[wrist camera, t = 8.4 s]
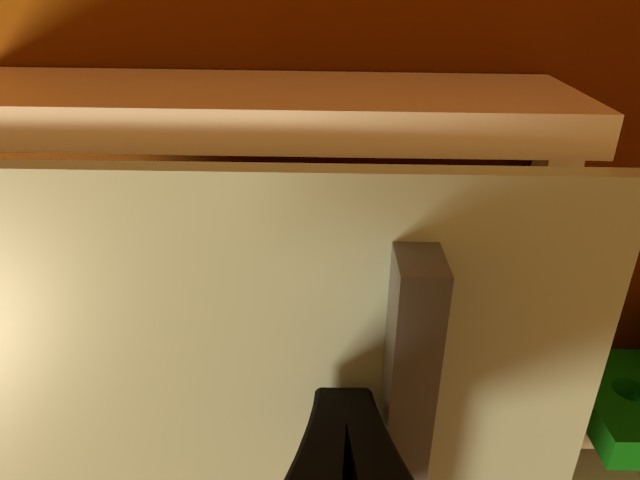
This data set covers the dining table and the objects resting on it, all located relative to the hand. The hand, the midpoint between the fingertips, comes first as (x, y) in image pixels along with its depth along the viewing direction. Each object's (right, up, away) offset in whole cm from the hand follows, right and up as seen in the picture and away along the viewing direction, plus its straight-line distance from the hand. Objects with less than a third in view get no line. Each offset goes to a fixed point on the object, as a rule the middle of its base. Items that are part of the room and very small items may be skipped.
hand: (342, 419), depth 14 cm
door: (-2, +1, +1) cm, 2 cm away
